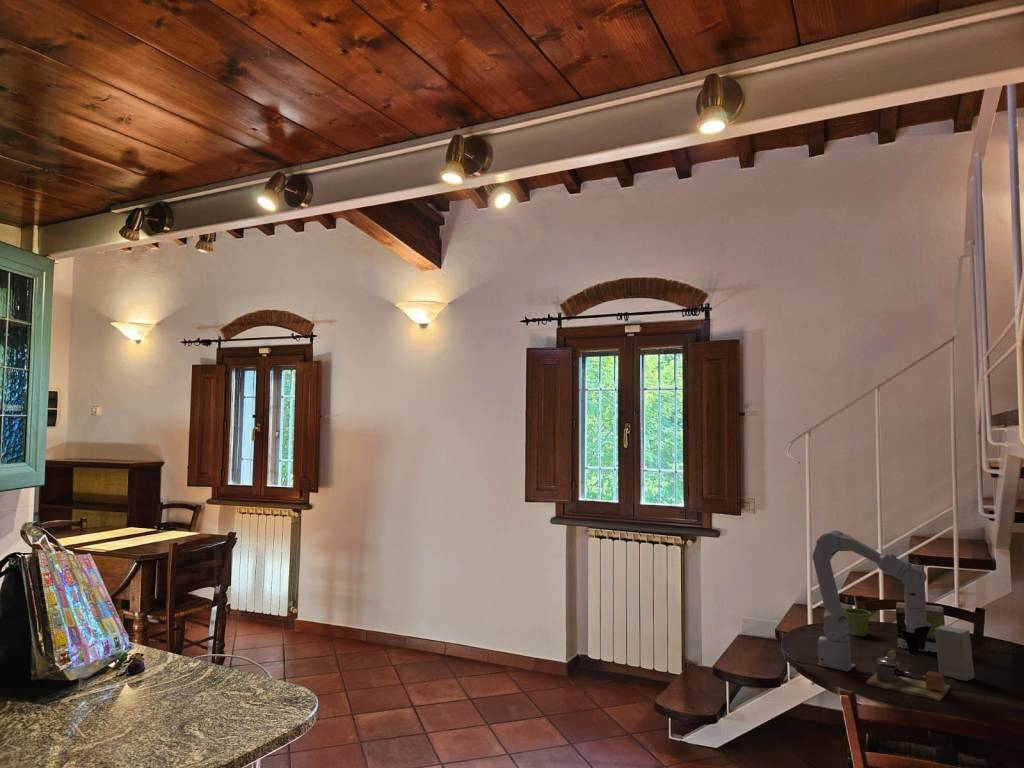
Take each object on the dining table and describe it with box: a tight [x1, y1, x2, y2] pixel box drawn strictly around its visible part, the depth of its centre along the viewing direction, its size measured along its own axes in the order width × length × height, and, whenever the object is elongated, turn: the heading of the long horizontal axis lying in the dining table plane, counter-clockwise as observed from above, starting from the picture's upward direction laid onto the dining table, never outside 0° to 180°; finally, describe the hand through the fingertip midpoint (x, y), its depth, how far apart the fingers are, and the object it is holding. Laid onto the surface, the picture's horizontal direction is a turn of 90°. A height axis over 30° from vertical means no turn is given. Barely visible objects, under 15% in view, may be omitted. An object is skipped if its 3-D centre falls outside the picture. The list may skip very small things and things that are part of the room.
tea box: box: [895, 601, 946, 653], centre depth 241 cm, size 15×10×15 cm, turn 58°
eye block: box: [875, 662, 902, 684], centre depth 207 cm, size 5×7×5 cm
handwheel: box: [876, 649, 900, 666], centre depth 208 cm, size 8×6×3 cm
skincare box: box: [935, 625, 975, 682], centre depth 212 cm, size 8×6×15 cm
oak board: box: [866, 672, 951, 702], centre depth 203 cm, size 20×14×1 cm
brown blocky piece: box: [896, 669, 946, 691], centre depth 201 cm, size 12×4×4 cm, turn 46°
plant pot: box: [843, 608, 872, 637], centre depth 258 cm, size 9×9×9 cm
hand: (917, 651), depth 206 cm, fingers open, 7 cm apart
